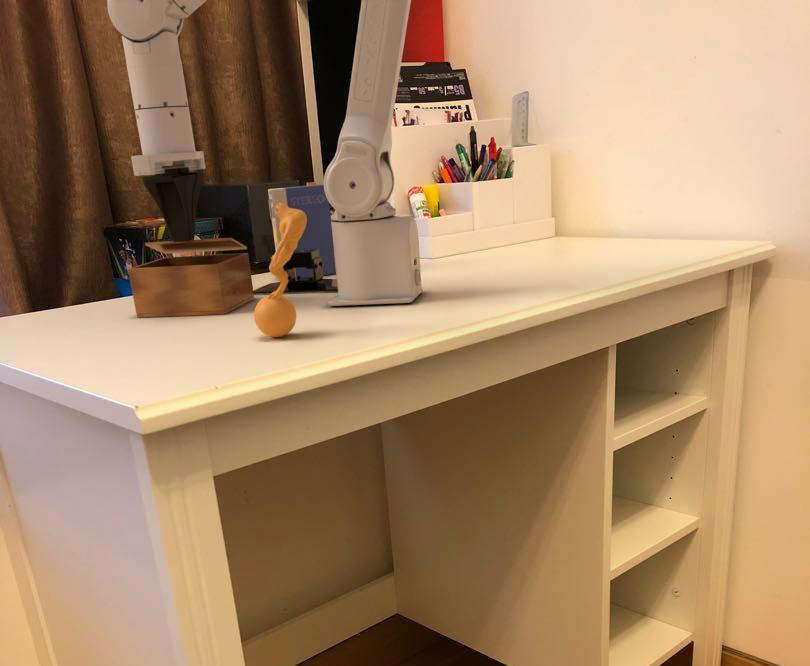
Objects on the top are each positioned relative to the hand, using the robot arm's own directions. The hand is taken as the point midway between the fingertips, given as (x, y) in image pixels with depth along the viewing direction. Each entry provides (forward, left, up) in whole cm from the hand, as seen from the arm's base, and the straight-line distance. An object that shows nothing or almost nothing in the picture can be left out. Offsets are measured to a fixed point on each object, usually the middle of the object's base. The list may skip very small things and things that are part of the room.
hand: (183, 241), depth 100 cm
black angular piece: (-10, -12, -8) cm, 18 cm away
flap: (0, -3, -1) cm, 3 cm away
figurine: (-17, +18, -8) cm, 26 cm away
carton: (0, -1, -8) cm, 8 cm away
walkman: (-7, -23, -8) cm, 25 cm away
